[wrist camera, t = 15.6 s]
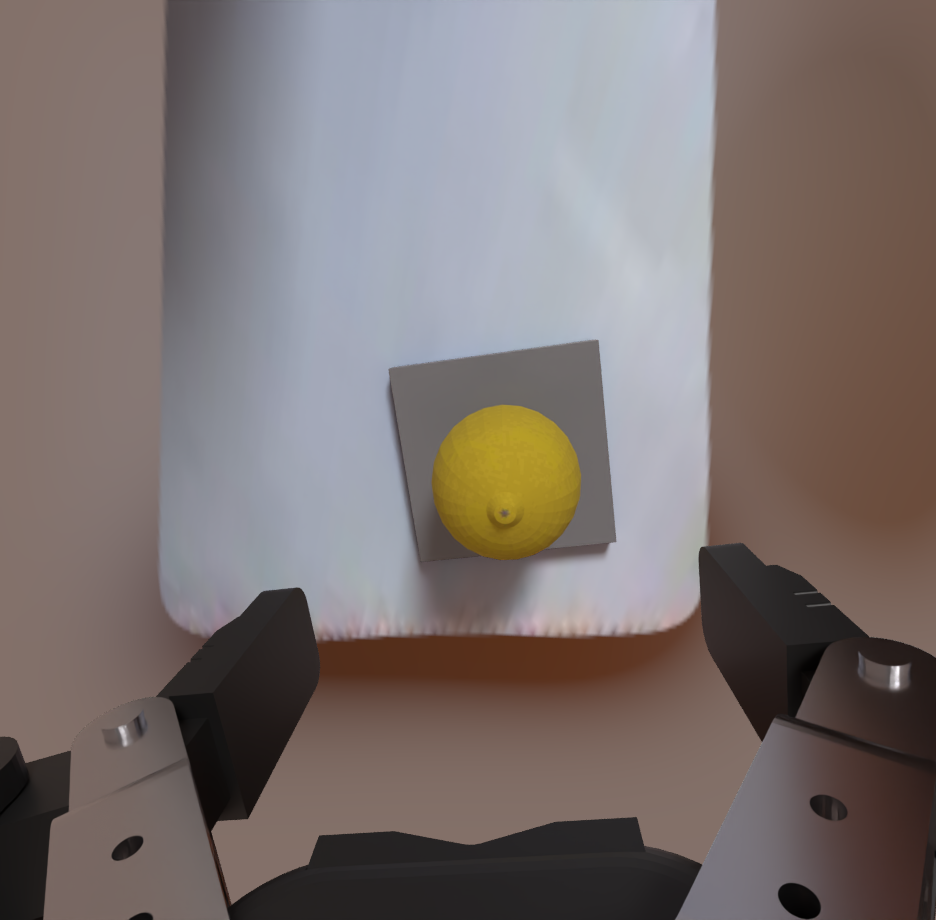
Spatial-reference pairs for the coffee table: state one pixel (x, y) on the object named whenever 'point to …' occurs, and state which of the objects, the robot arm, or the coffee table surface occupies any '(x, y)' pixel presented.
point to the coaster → (506, 383)
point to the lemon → (506, 482)
